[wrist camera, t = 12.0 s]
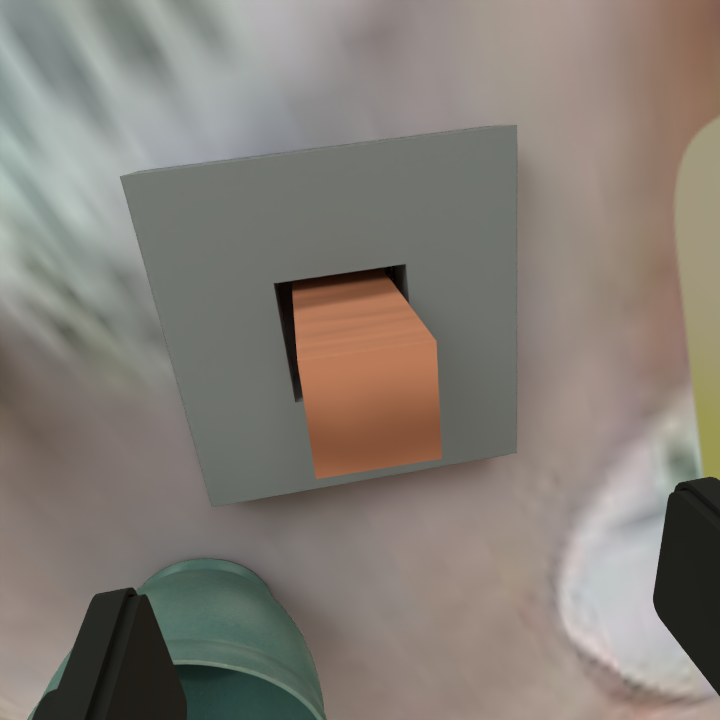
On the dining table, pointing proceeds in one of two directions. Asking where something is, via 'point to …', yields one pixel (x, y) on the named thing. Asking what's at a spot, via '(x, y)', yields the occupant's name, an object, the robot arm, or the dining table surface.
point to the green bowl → (230, 645)
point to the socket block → (328, 257)
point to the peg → (365, 374)
